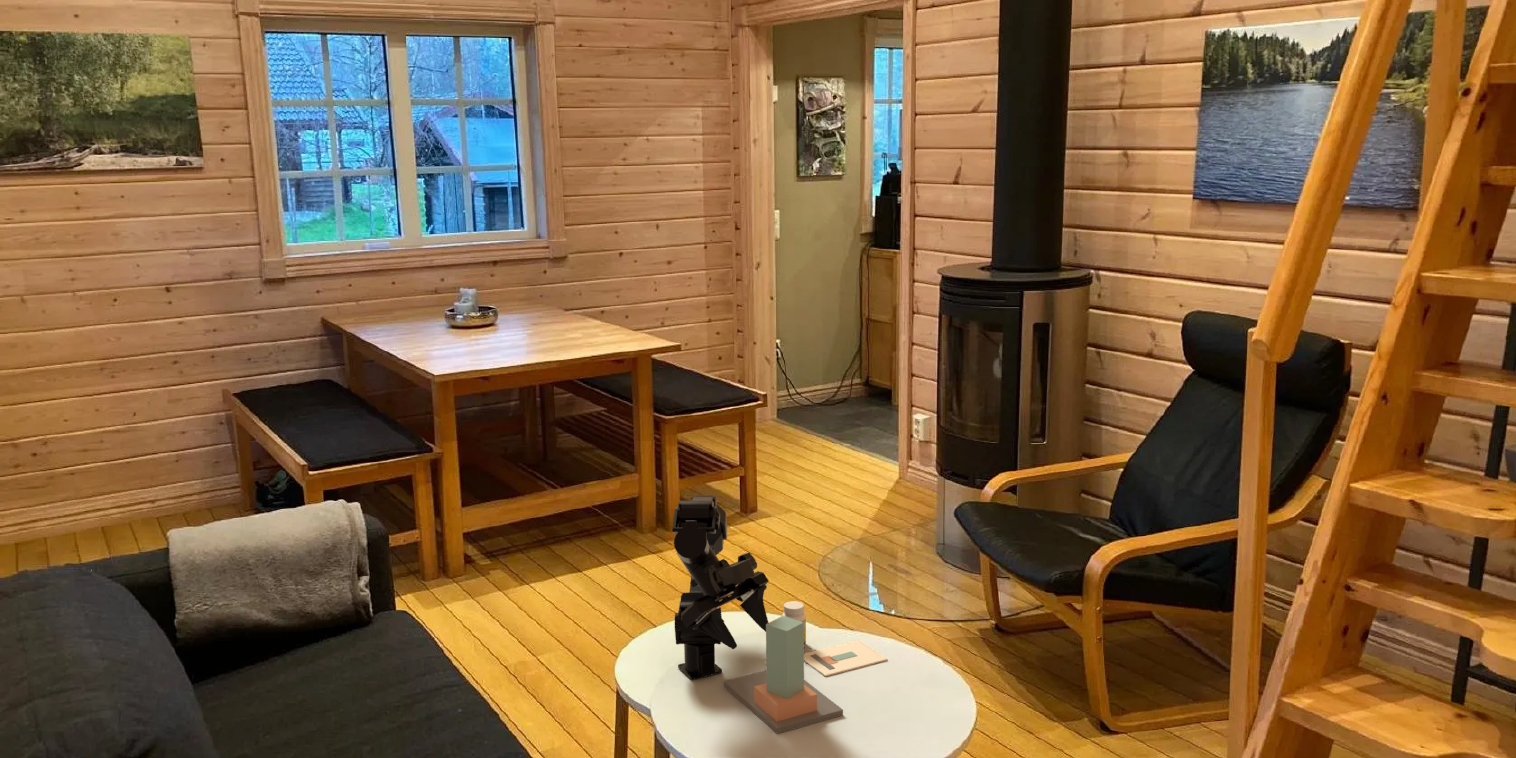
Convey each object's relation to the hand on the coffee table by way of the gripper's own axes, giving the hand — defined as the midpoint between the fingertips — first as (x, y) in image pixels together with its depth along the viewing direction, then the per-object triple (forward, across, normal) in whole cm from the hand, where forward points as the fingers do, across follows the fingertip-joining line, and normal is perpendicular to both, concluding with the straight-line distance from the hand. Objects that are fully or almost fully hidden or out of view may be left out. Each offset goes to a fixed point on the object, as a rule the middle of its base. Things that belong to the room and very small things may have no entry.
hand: (752, 639), depth 203 cm
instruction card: (+10, +23, +6) cm, 26 cm away
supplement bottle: (+3, +22, +14) cm, 26 cm away
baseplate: (+11, +3, +5) cm, 12 cm away
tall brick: (+11, 0, 0) cm, 11 cm away
